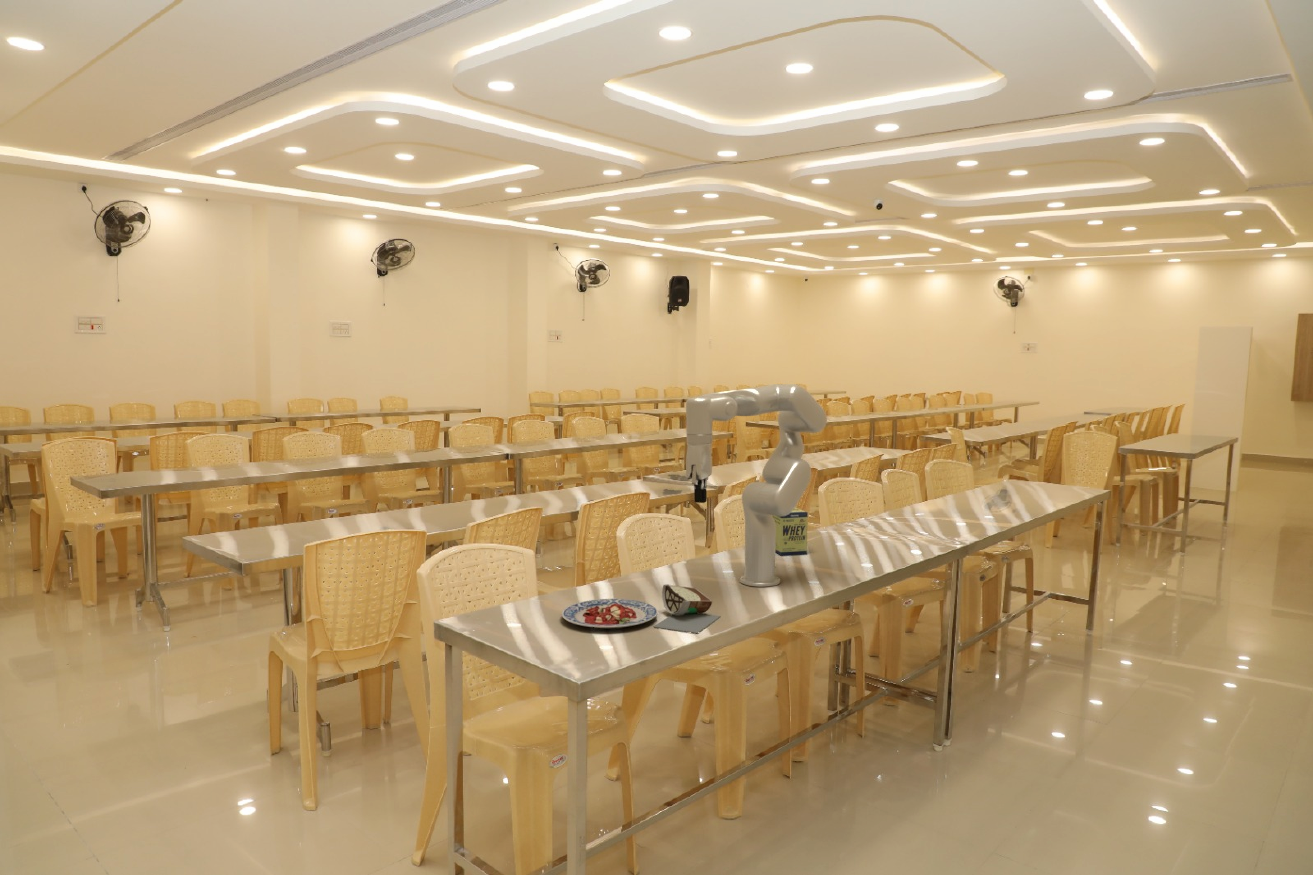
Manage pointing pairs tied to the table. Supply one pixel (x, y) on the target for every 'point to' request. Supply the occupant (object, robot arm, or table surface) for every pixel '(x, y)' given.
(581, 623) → the ceramic plate
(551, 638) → the table surface
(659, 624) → the mat
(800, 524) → the protein box
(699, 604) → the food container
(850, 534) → the table surface
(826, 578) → the table surface
